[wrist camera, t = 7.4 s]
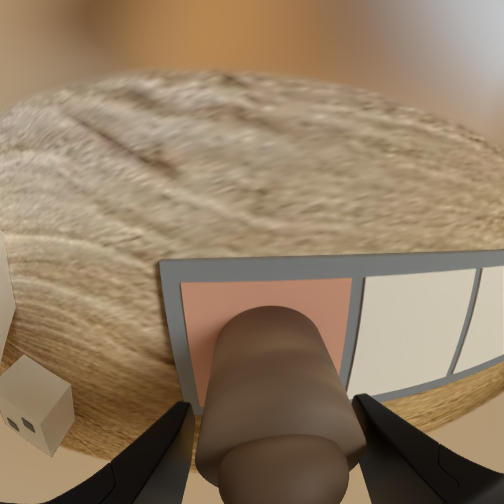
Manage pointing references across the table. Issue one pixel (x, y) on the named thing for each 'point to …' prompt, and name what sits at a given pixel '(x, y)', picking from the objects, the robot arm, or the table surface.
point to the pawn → (276, 414)
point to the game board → (349, 314)
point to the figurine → (5, 295)
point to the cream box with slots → (36, 404)
